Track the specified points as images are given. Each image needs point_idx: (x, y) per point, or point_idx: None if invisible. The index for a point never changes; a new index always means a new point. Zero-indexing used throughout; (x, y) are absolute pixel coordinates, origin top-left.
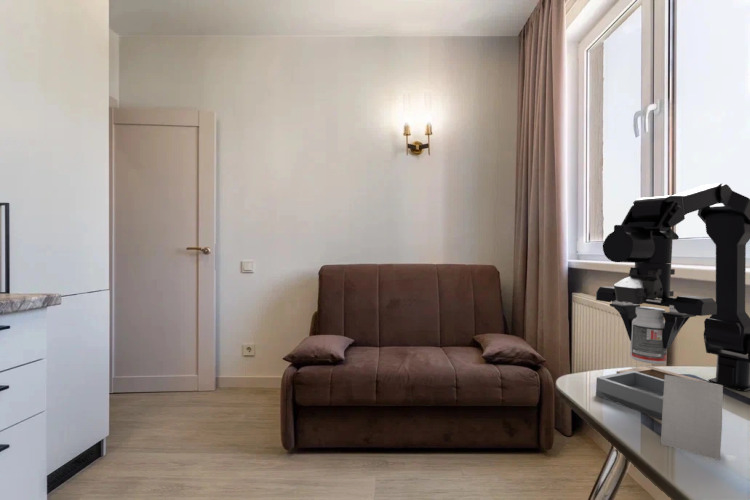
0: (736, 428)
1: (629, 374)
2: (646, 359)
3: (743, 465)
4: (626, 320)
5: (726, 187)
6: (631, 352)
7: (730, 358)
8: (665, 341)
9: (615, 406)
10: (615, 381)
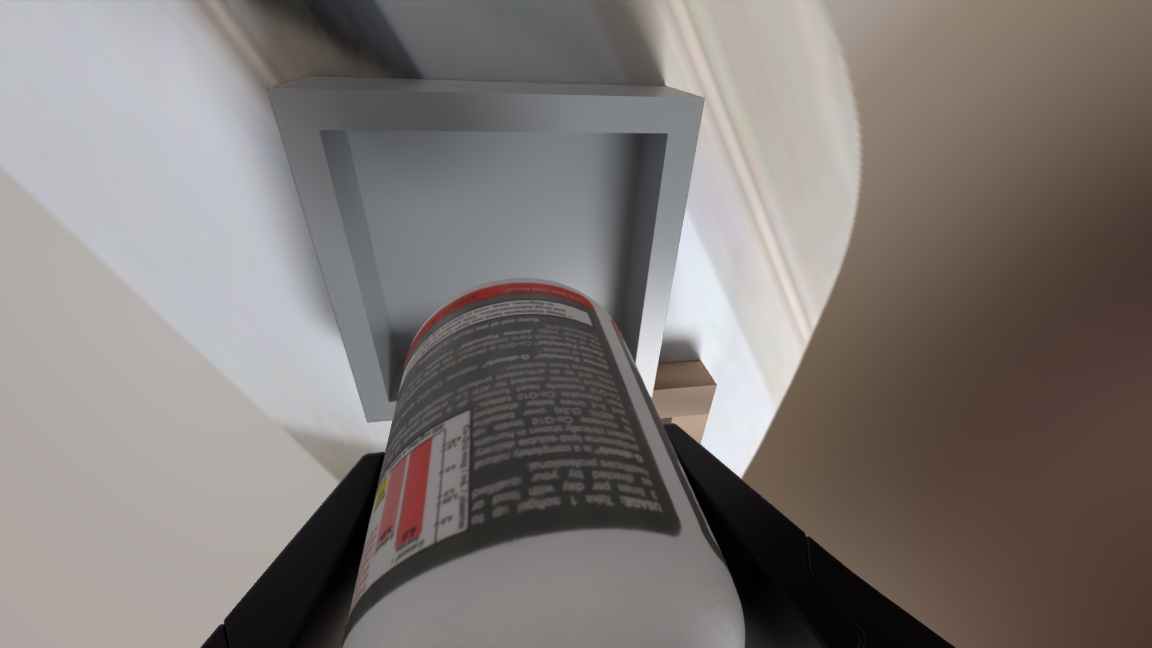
0: (185, 312)
1: (636, 343)
2: (467, 297)
3: None
4: (810, 583)
5: None
6: (601, 316)
7: None
8: (343, 506)
9: (524, 15)
10: (644, 229)
